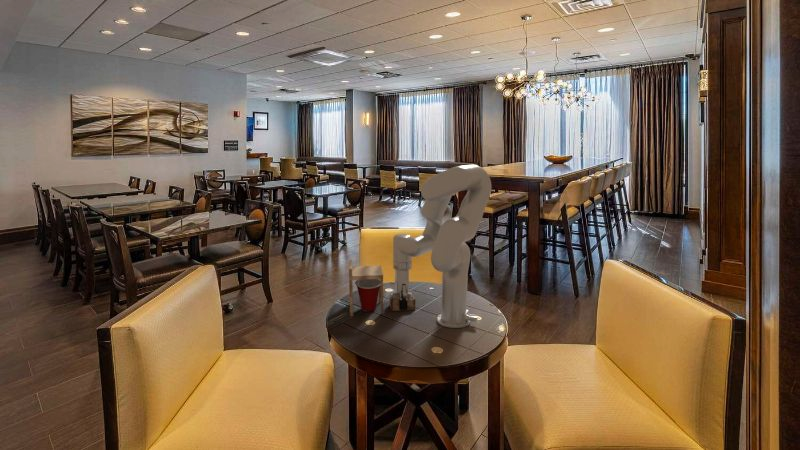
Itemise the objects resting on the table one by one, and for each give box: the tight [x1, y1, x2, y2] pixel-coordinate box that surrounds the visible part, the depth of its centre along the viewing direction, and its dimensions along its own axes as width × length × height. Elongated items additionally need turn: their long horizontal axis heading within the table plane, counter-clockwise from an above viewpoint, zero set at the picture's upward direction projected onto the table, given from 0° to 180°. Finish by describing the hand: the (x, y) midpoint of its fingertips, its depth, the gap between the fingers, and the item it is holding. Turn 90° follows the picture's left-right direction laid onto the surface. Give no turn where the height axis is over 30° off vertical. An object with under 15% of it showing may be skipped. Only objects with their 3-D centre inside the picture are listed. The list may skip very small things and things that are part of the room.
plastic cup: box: [354, 279, 381, 312], centre depth 174 cm, size 11×11×12 cm
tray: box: [389, 292, 416, 312], centre depth 177 cm, size 10×6×6 cm, turn 97°
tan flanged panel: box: [348, 259, 384, 317], centre depth 174 cm, size 13×13×20 cm
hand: (402, 305), depth 177 cm, fingers closed on tray, 6 cm apart
